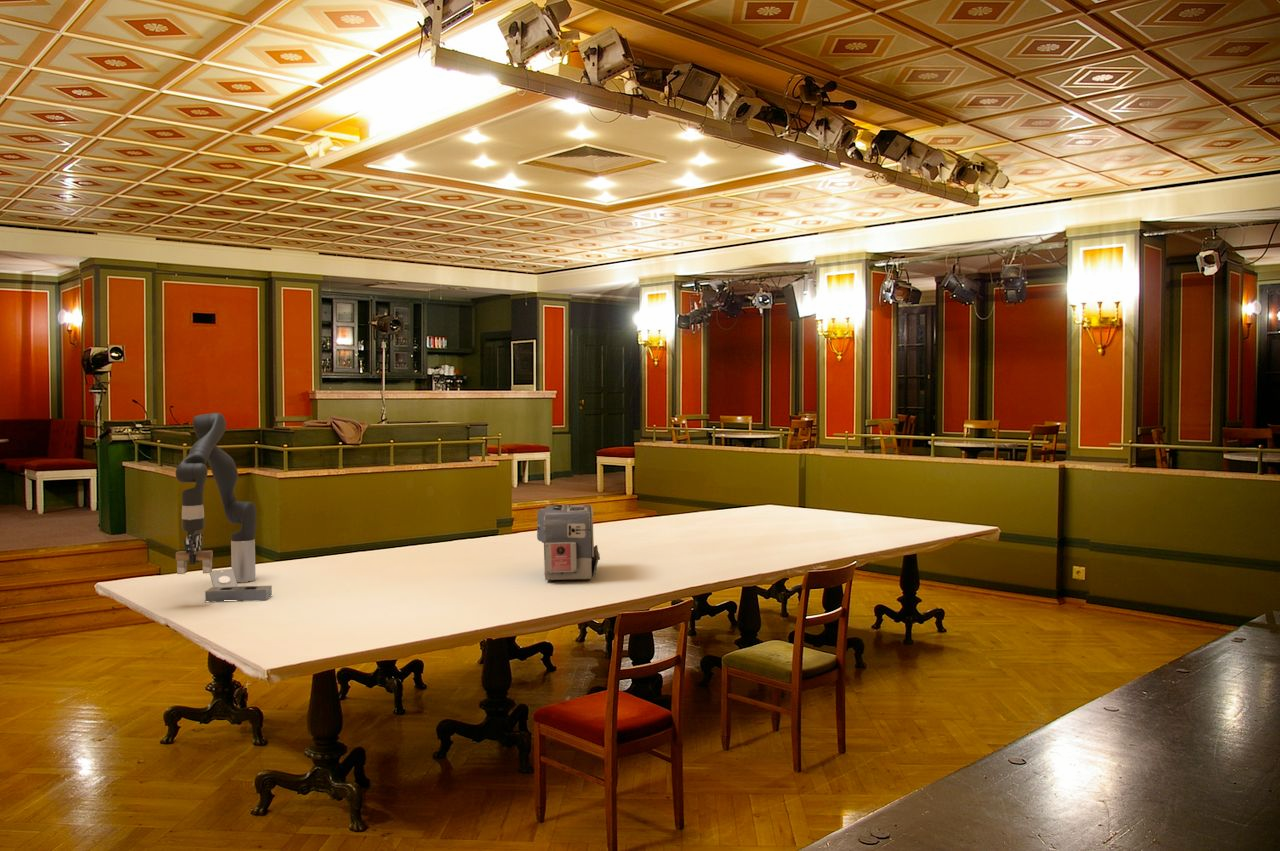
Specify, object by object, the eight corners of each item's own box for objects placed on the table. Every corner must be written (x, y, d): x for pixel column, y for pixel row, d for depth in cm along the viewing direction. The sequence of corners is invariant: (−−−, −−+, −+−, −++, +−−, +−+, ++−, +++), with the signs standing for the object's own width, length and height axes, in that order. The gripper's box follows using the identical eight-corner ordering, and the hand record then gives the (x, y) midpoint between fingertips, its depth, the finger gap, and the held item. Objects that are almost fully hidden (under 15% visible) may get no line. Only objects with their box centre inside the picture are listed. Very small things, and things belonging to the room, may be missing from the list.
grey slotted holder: (212, 597, 364) (212, 587, 364) (271, 595, 367) (271, 585, 367) (205, 602, 357) (205, 591, 356) (265, 600, 359) (265, 589, 359)
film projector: (598, 585, 384) (598, 511, 383) (526, 585, 385) (525, 511, 383) (604, 566, 423) (603, 500, 422) (538, 567, 424) (538, 500, 423)
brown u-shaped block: (179, 572, 352) (178, 551, 352) (213, 571, 353) (212, 550, 353) (176, 574, 349) (175, 552, 348) (210, 573, 350) (209, 551, 350)
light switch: (216, 591, 367) (209, 568, 377) (215, 603, 370) (208, 580, 380) (239, 589, 372) (232, 566, 382) (238, 600, 374) (231, 578, 385)
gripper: (189, 514, 357) (190, 560, 357) (175, 520, 343) (176, 567, 343) (210, 514, 357) (211, 559, 358) (196, 519, 343) (198, 566, 344)
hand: (194, 563), depth 351 cm, fingers closed on brown u-shaped block, 3 cm apart
